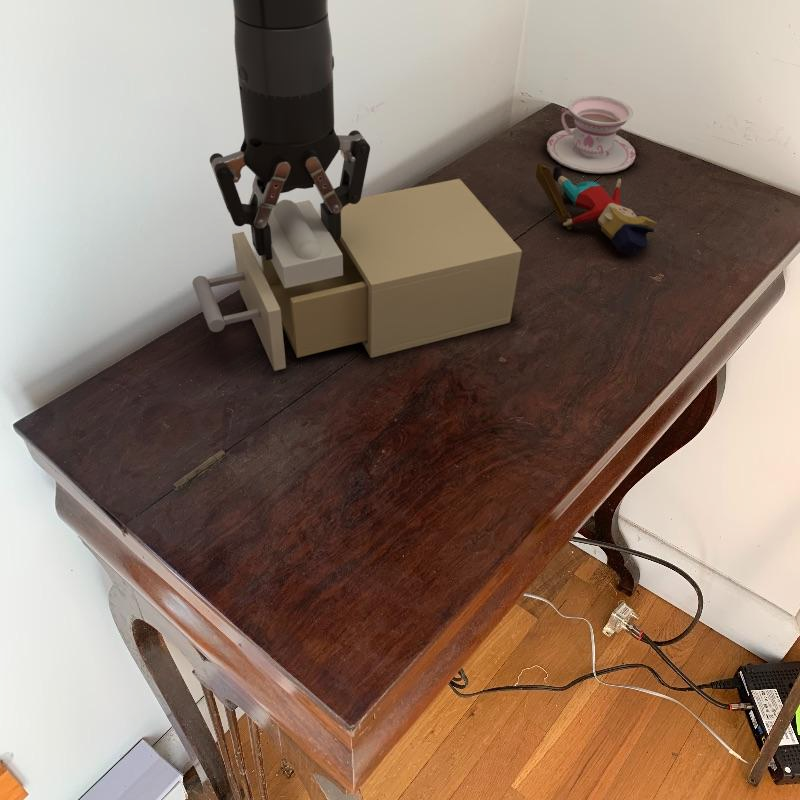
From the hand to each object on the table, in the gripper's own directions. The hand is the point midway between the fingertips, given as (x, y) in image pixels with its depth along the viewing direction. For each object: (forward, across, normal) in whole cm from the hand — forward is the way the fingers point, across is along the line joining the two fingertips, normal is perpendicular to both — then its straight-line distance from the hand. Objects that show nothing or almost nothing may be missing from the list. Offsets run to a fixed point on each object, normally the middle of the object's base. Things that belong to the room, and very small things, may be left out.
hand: (297, 248), depth 76 cm
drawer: (+9, 0, 0) cm, 9 cm away
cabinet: (+10, -13, 0) cm, 16 cm away
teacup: (+10, -48, -21) cm, 53 cm away
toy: (+10, -38, -5) cm, 39 cm away
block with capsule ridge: (+1, 0, 0) cm, 1 cm away
